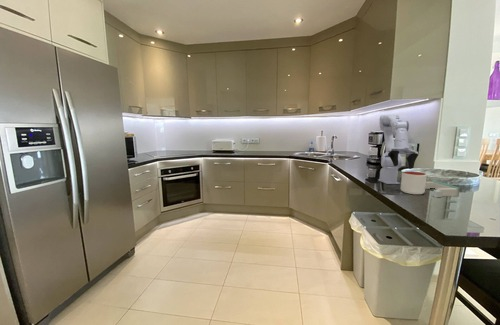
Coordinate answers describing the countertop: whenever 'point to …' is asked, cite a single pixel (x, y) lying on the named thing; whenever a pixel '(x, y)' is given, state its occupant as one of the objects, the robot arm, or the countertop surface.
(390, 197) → the countertop surface
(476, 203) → the countertop surface
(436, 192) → the clip post
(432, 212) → the countertop surface
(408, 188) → the cup
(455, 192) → the end holder
